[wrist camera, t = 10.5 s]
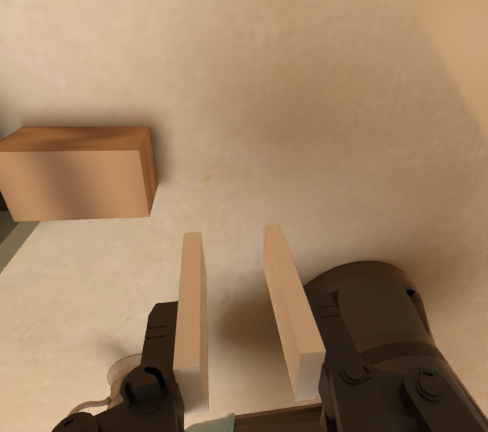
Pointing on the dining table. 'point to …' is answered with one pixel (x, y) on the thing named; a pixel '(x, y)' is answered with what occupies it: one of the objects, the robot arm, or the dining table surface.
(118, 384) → the mug
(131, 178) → the peg
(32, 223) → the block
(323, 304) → the robot arm
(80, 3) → the dining table surface
